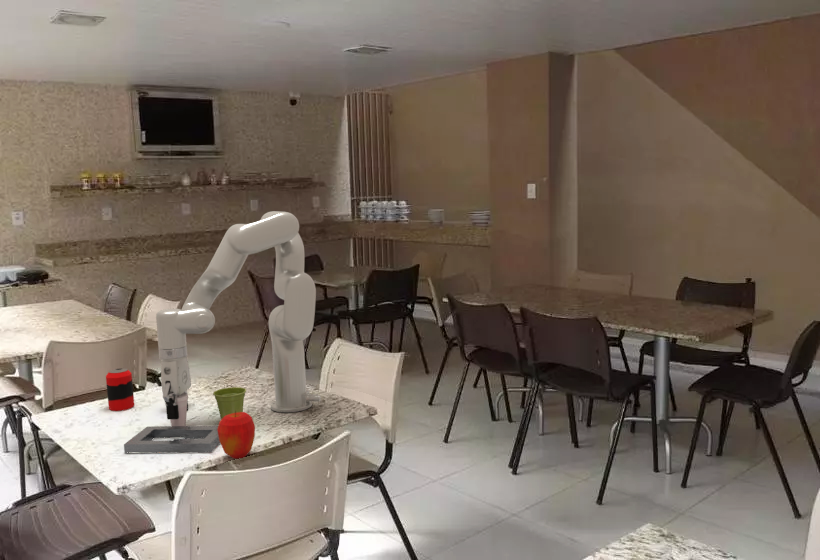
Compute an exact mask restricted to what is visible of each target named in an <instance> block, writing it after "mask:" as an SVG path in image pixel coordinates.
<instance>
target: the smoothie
mask: <svg viewBox="0 0 820 560" xmlns="http://www.w3.org/2000/svg"><path fill="white" fill-rule="evenodd" d="M187 393H188V392H187ZM187 393H182V394H181V395H177V404H176V405H178V411H179V418H178V419H169V420H170V426H187V417H188V416H187V415H188V414H187V413H188V411H187V399H190V398H189V394H187ZM172 394H174V393H172ZM170 398H172V399H173V398H174V397H170Z"/></svg>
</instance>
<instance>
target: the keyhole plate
mask: <svg viewBox="0 0 820 560" xmlns="http://www.w3.org/2000/svg"><path fill="white" fill-rule="evenodd" d="M217 429H218V425H186V426H171V425H167V426H165V425H164V426H161V425H159V426H158V425H157V426H156V425H155V426H152V425H151V426H146V427H144V428H143V429H142V430H140V431H139V432H138V433H136V435H134V436H133V437H131V438H130V439H129V440H128V441H126V442H125V443H124V444H123V451H124V454H130V453H129V452H156V453H155V454H158V453H157V452H198V453H199V454H201V453H203V454H204V453H212V452H214V450H215V449H216V448H217V447H218V446H219V445H221V443H220V441H219V436H218V430H217ZM164 437H165V438H164ZM170 437H184V438H174V439H173V440H154V439H166V438H167V439H171V438H170ZM153 438H154V439H153ZM152 439H153V440H152ZM127 452H128V453H127Z"/></svg>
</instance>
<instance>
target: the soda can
mask: <svg viewBox="0 0 820 560" xmlns="http://www.w3.org/2000/svg"><path fill="white" fill-rule="evenodd" d="M132 374H133V373H132V371H130V370H129V369H128V368H124V367H123V368H115V369H111V370H108V373H106V375H105V381H106V383H105V384H106V393H107V404H108V409H109V410H110V411H111V412H121V411H122V410H123V411H127V410H130V409H133V408H134V406H135V397H134V395H135V394H134V386H133V375H132ZM123 411H122V412H123Z"/></svg>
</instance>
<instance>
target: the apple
mask: <svg viewBox="0 0 820 560" xmlns="http://www.w3.org/2000/svg"><path fill="white" fill-rule="evenodd" d="M217 426H218V429H217V430H218V436H219V441H220V445H221V448H222V450H223V452H224V454H225V455H227V456H229V457H230V458H232V459H233V460H234V459H236V460H237V459H243V458H245V457H246V456H247V455H248V454H249V453H250V452H251V451H252V448H253V444H254V441H255V438H256V437H255V436H256V435H255V434H256V425H255V422H254V420H253V417H252V416H251V415H250V414H248V413H247V412H245V411H243V412H238V413H236V411H235V413H232V414H229V415H226V416H224V417H223V418H222V420H221V419H220V420H219V422H218V424H217Z"/></svg>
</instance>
